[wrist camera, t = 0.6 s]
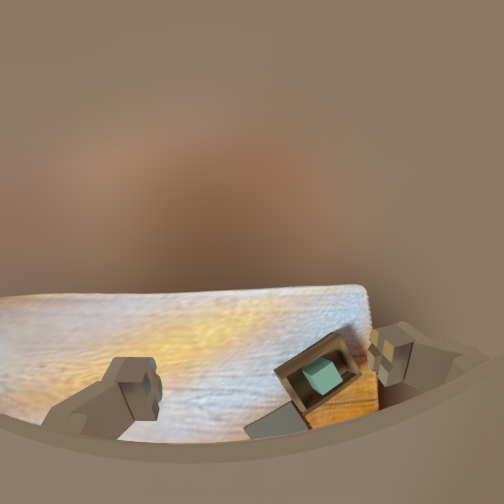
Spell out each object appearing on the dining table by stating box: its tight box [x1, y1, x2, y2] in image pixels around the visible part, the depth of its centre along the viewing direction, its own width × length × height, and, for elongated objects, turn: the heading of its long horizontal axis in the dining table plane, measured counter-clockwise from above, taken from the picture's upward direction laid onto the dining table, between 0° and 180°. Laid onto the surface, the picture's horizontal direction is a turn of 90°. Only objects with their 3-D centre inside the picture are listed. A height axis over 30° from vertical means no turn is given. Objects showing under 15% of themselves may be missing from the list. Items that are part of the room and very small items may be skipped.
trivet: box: [243, 401, 309, 439], centre depth 53 cm, size 12×12×1 cm
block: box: [301, 357, 343, 395], centre depth 53 cm, size 5×5×7 cm
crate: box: [274, 333, 362, 416], centre depth 54 cm, size 11×15×6 cm
